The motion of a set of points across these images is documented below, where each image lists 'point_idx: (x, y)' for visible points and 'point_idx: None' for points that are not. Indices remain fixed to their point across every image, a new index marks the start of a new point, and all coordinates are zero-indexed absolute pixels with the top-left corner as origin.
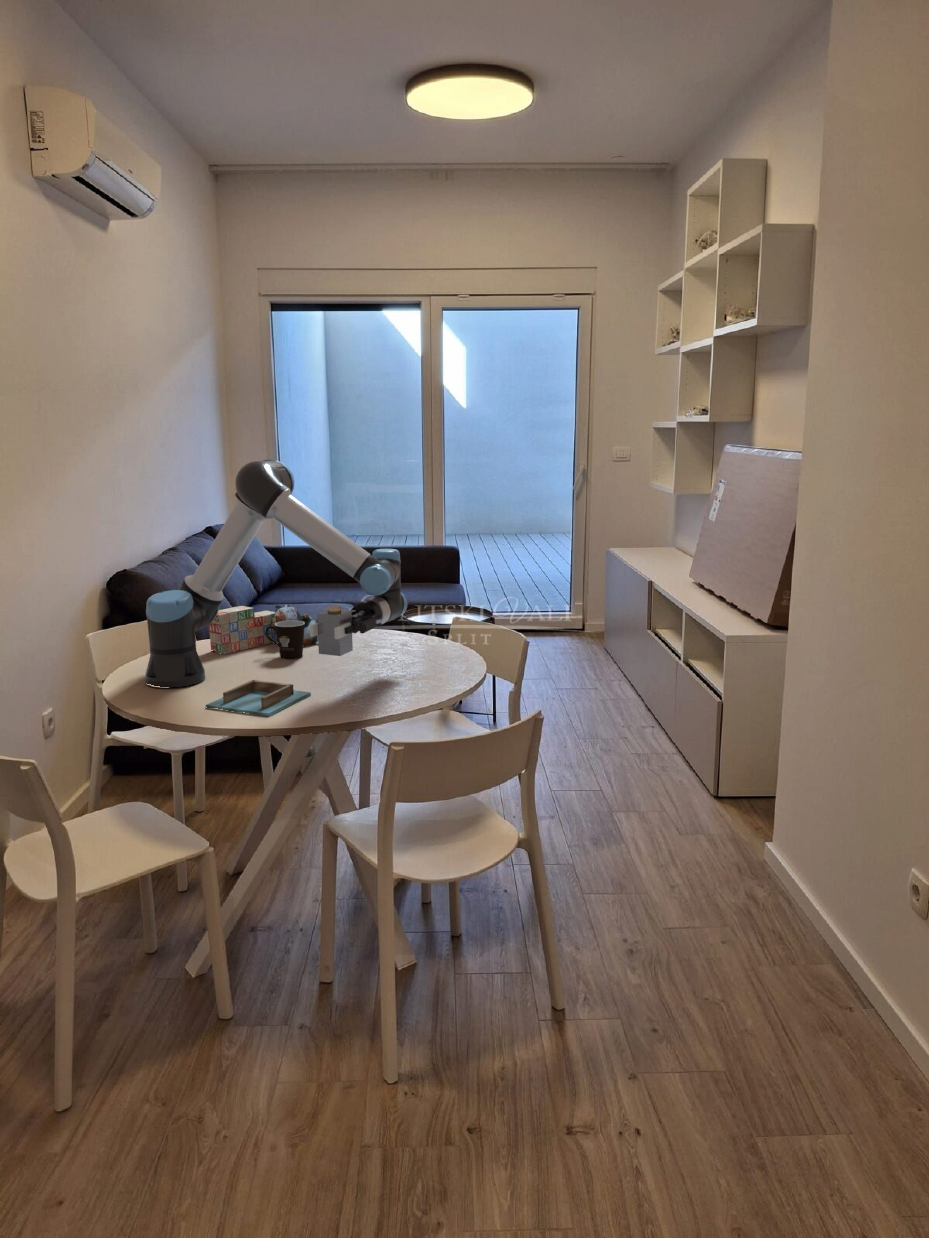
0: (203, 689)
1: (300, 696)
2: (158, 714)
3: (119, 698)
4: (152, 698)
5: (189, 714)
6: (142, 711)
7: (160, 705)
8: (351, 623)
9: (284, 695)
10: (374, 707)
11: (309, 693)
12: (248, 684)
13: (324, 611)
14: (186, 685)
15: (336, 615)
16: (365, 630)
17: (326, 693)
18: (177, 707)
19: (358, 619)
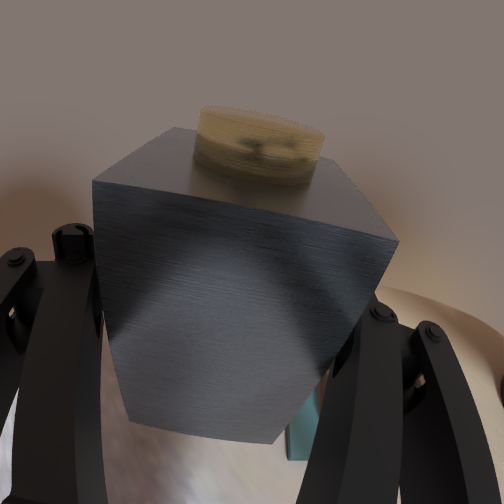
0: (481, 397)
1: (293, 417)
2: (419, 301)
3: (494, 332)
4: (479, 342)
5: (393, 307)
6: (441, 305)
7: (450, 325)
8: (104, 299)
9: (320, 387)
10: None
11: (290, 452)
12: (420, 386)
13: (343, 181)
14: (502, 391)
15: (190, 131)
16: (10, 317)
17: (253, 489)
18: None
19: (36, 387)
